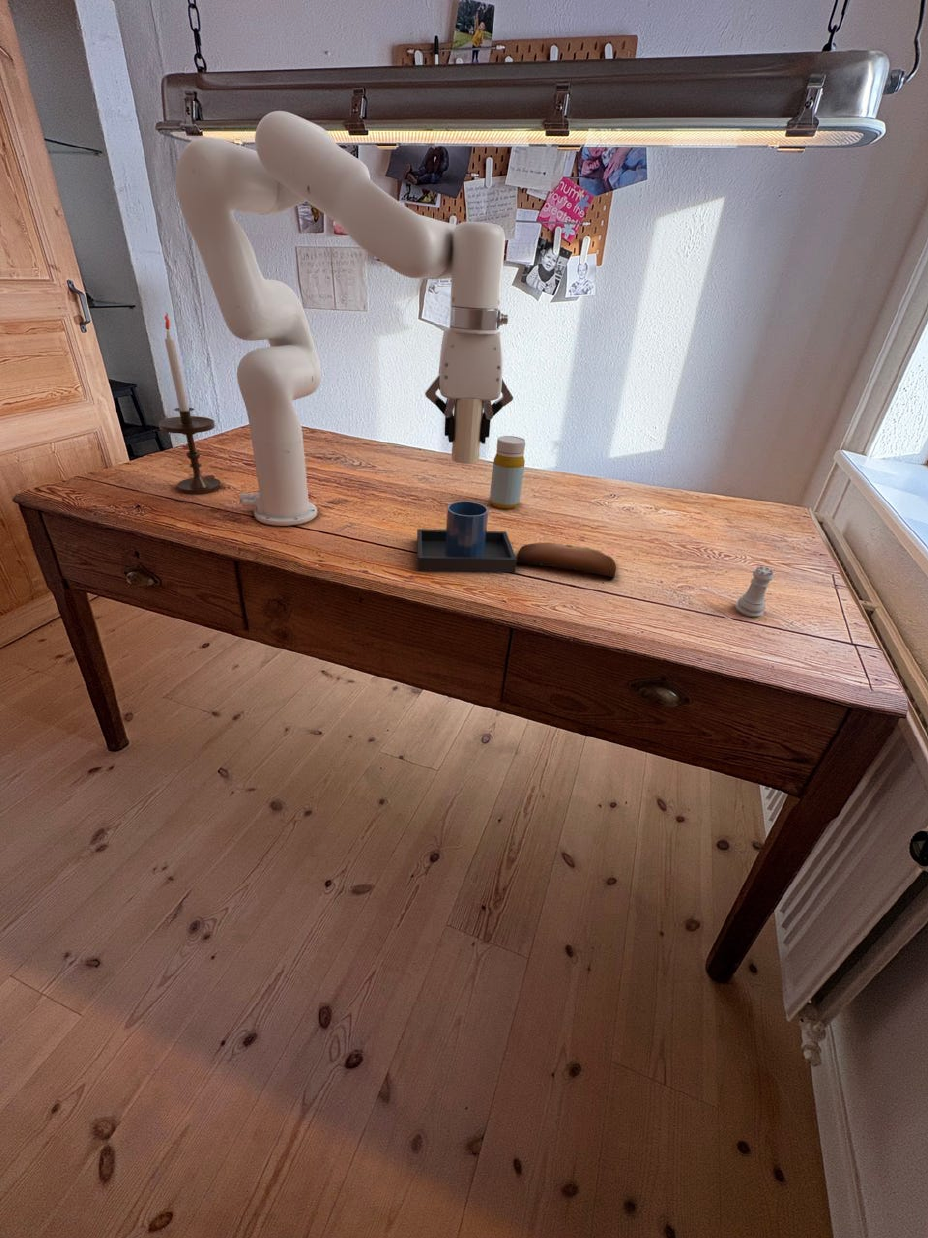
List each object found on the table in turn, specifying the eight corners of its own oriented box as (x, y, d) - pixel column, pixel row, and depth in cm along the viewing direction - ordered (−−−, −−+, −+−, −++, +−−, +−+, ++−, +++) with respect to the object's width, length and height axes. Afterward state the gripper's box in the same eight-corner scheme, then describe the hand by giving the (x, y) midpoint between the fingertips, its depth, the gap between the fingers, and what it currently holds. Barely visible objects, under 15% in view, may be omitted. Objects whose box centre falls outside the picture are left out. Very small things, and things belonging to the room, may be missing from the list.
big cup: (446, 562, 100) (448, 515, 95) (444, 544, 106) (446, 500, 101) (486, 562, 100) (490, 516, 96) (481, 545, 107) (485, 501, 102)
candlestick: (195, 476, 130) (160, 309, 112) (235, 483, 128) (207, 313, 109) (162, 490, 121) (119, 311, 103) (204, 498, 119) (168, 316, 101)
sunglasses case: (614, 559, 105) (620, 539, 99) (610, 590, 102) (616, 571, 96) (522, 545, 108) (523, 524, 102) (515, 575, 105) (516, 555, 99)
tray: (418, 571, 97) (418, 557, 96) (417, 541, 108) (417, 529, 106) (515, 572, 99) (516, 559, 98) (504, 543, 110) (506, 531, 108)
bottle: (517, 511, 125) (525, 445, 117) (487, 507, 126) (493, 441, 118) (520, 501, 131) (528, 437, 123) (492, 497, 132) (498, 433, 124)
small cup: (452, 463, 93) (455, 398, 88) (450, 455, 97) (453, 392, 92) (480, 464, 94) (485, 399, 88) (477, 456, 98) (481, 393, 92)
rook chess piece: (738, 616, 91) (755, 573, 87) (731, 603, 95) (747, 561, 90) (766, 620, 91) (784, 577, 86) (758, 606, 94) (775, 565, 90)
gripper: (523, 322, 88) (511, 437, 98) (418, 315, 86) (416, 433, 96) (532, 326, 82) (518, 448, 92) (419, 319, 80) (417, 445, 90)
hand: (466, 439), depth 94 cm, fingers closed on small cup, 4 cm apart
